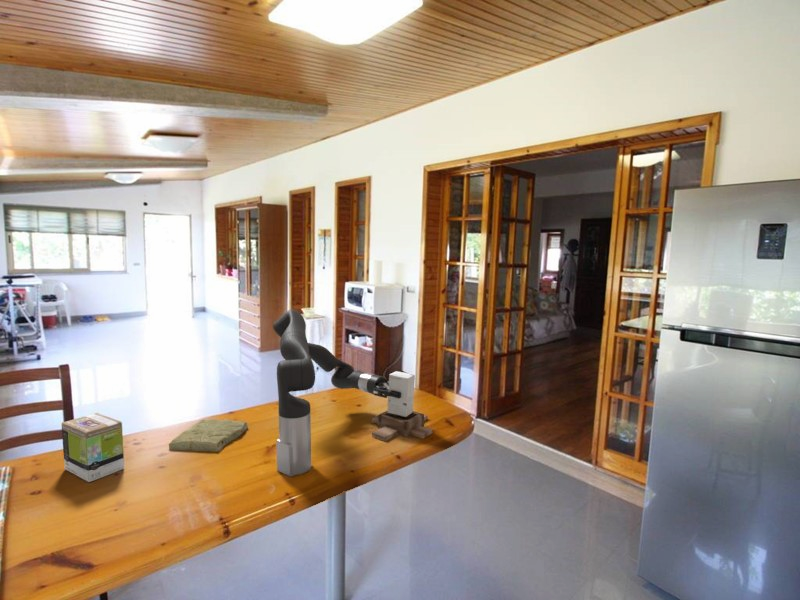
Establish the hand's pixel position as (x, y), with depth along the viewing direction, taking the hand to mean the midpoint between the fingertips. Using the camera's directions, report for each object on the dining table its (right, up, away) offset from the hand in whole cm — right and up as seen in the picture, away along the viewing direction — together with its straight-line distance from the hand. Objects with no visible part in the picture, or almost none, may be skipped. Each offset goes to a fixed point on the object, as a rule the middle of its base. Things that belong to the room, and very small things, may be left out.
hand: (406, 393), depth 157 cm
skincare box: (-2, -8, +2) cm, 9 cm away
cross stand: (-2, -13, +3) cm, 14 cm away
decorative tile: (-68, -15, -7) cm, 70 cm away
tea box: (-93, -17, -29) cm, 99 cm away
